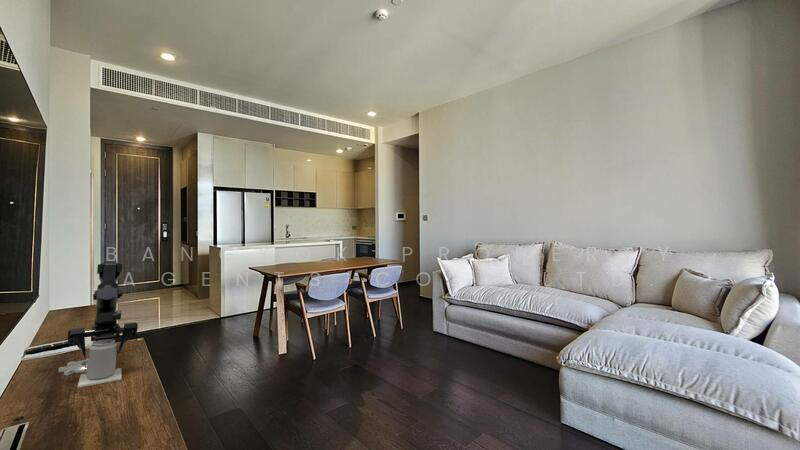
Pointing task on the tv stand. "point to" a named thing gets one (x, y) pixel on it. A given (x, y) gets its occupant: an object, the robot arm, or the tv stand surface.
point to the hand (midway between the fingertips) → (102, 354)
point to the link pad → (87, 381)
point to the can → (101, 359)
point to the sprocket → (75, 367)
